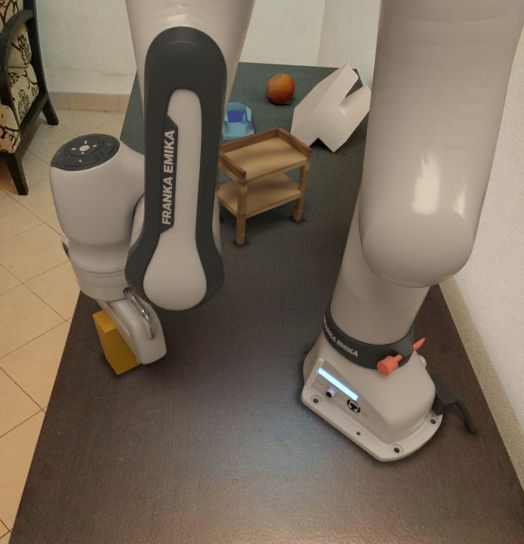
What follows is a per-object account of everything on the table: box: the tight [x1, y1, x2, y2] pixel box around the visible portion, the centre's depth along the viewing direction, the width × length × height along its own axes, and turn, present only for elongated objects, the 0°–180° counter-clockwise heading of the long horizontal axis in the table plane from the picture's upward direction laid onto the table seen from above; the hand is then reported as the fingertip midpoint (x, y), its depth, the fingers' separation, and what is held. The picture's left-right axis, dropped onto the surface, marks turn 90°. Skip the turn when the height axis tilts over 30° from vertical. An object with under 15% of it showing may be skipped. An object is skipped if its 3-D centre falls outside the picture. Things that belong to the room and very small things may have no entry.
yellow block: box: [92, 310, 142, 376], centre depth 69 cm, size 4×7×10 cm, turn 127°
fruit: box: [265, 73, 296, 106], centre depth 131 cm, size 8×8×8 cm
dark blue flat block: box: [227, 111, 255, 134], centre depth 122 cm, size 2×8×12 cm
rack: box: [216, 126, 313, 246], centre depth 92 cm, size 10×16×16 cm, turn 127°
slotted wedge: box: [289, 62, 372, 153], centre depth 116 cm, size 14×11×18 cm
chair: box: [221, 101, 252, 143], centre depth 107 cm, size 8×8×12 cm
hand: (126, 337), depth 70 cm, fingers open, 8 cm apart
